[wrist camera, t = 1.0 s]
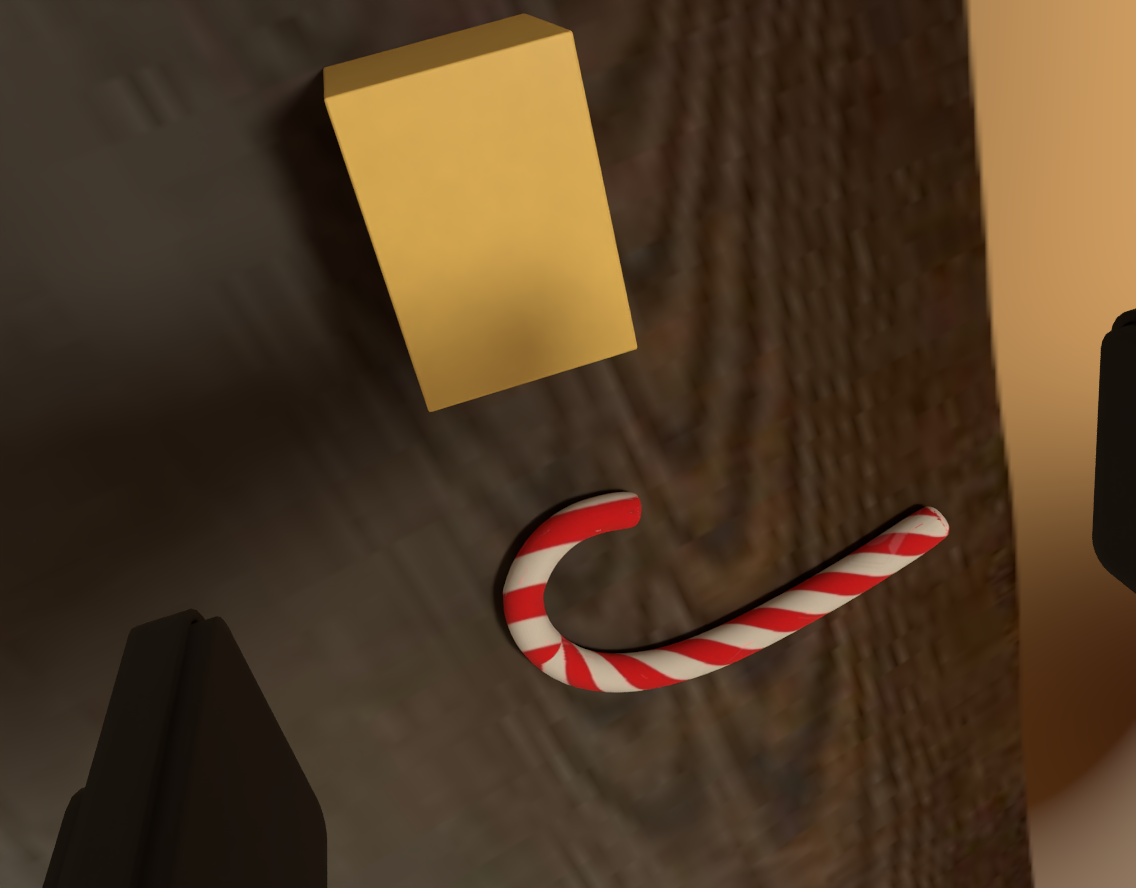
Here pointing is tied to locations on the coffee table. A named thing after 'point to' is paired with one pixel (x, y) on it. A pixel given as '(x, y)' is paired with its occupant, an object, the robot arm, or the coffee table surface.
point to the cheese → (484, 205)
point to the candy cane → (708, 647)
